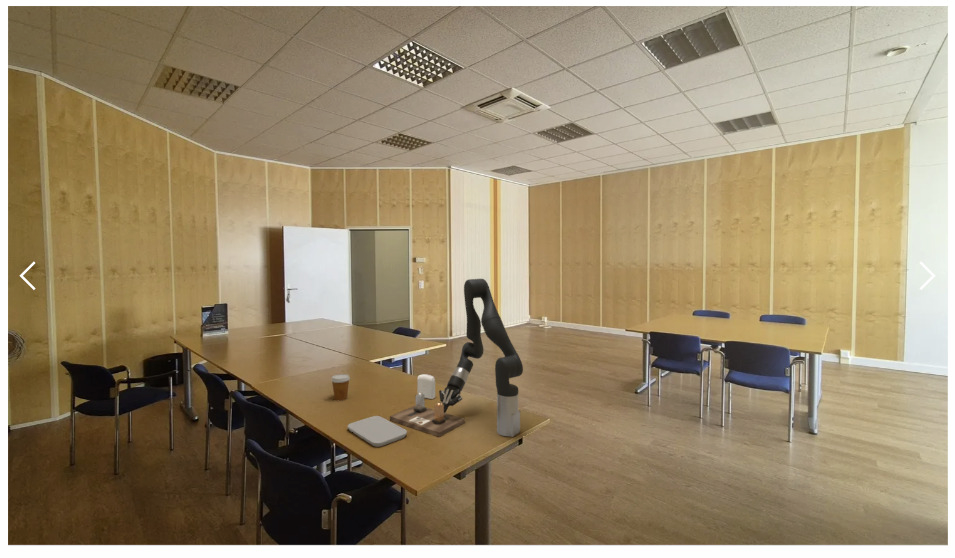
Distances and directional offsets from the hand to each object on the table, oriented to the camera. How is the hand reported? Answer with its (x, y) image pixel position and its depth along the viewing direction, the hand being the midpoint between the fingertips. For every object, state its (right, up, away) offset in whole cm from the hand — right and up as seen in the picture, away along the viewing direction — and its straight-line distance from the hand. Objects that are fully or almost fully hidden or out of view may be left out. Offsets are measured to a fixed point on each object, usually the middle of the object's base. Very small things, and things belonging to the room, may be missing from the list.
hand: (442, 412), depth 184 cm
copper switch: (-1, -4, -1) cm, 4 cm away
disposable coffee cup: (-57, -4, +34) cm, 66 cm away
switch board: (-7, -6, +4) cm, 10 cm away
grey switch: (-12, -3, +12) cm, 17 cm away
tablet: (-28, -7, -8) cm, 30 cm away
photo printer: (-12, -4, +36) cm, 38 cm away
